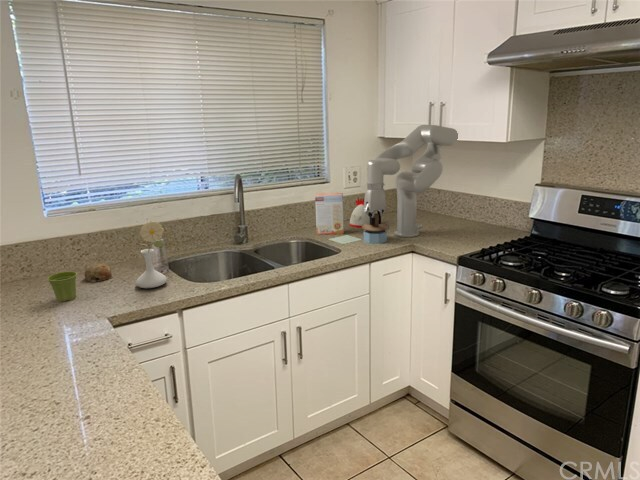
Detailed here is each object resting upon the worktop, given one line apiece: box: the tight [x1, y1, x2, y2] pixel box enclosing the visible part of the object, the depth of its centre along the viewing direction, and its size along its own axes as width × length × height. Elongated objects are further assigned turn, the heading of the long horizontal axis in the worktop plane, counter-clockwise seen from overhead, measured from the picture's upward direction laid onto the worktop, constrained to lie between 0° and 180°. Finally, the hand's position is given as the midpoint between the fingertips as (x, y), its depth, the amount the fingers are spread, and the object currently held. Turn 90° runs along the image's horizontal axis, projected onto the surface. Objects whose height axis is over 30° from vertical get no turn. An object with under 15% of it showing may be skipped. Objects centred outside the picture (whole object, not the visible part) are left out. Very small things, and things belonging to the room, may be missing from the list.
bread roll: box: [84, 262, 112, 283], centre depth 191 cm, size 10×10×8 cm
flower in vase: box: [135, 220, 168, 289], centre depth 178 cm, size 13×11×25 cm
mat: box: [328, 234, 363, 245], centre depth 235 cm, size 12×12×1 cm
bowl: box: [363, 229, 388, 244], centre depth 231 cm, size 11×11×5 cm
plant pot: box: [46, 271, 78, 302], centre depth 170 cm, size 9×9×9 cm
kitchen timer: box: [349, 197, 372, 229], centre depth 261 cm, size 14×14×15 cm
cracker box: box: [314, 192, 345, 236], centre depth 245 cm, size 14×6×21 cm, turn 84°
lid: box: [361, 212, 390, 231], centre depth 229 cm, size 13×13×7 cm
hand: (375, 224), depth 229 cm, fingers closed on lid, 3 cm apart
